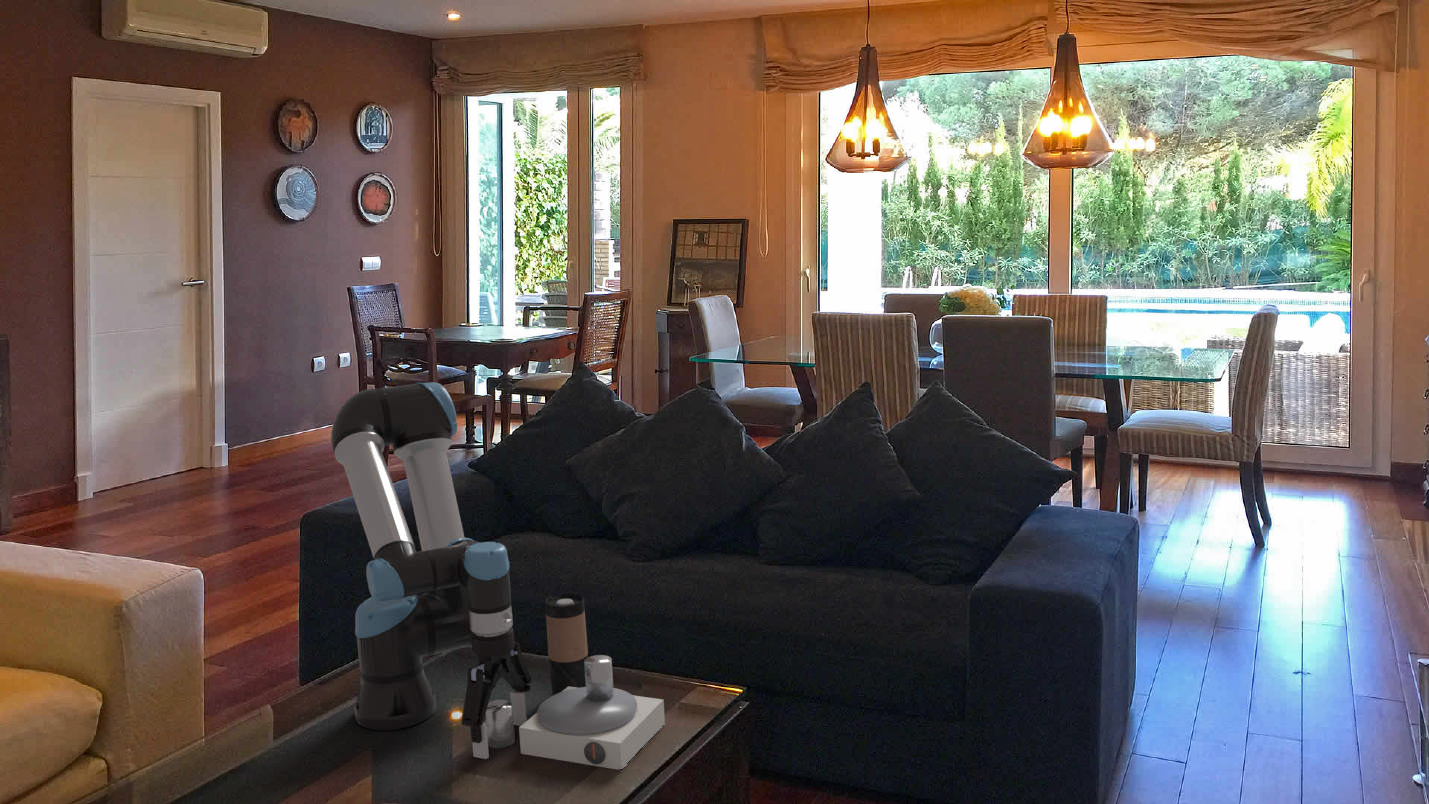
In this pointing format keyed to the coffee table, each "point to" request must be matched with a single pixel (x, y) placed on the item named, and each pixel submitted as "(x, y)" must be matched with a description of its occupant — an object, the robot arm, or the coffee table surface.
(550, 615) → the travel mug
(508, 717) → the cylinder
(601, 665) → the cylinder
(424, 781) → the coffee table surface
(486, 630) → the robot arm
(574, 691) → the scale
